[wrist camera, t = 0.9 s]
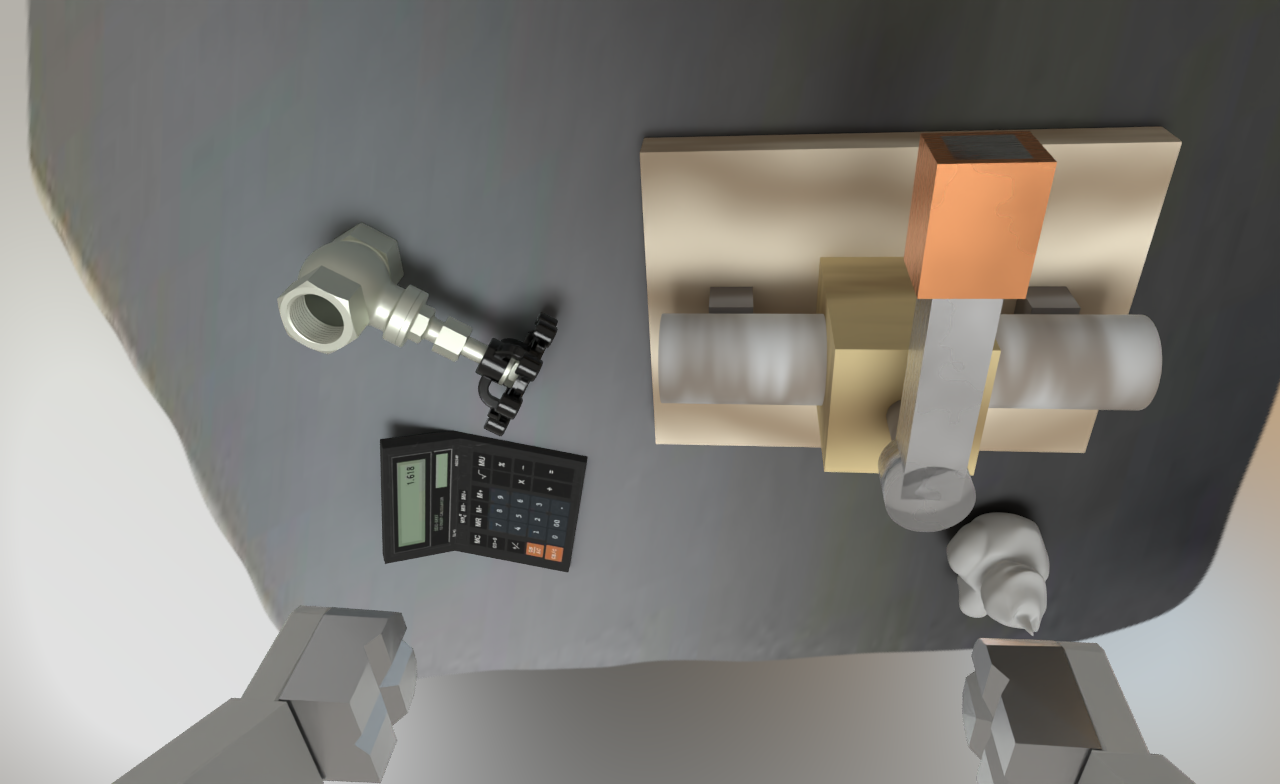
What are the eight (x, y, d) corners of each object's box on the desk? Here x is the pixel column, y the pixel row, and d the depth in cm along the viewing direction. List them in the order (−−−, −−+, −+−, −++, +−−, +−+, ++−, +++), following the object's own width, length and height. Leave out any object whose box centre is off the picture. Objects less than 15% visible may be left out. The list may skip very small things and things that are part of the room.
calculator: (570, 562, 55) (562, 597, 52) (395, 528, 55) (378, 562, 52) (588, 453, 49) (579, 487, 47) (393, 415, 49) (375, 447, 47)
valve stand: (644, 138, 38) (605, 261, 28) (1161, 126, 35) (1334, 257, 25) (659, 421, 47) (634, 595, 37) (1072, 429, 44) (1172, 617, 34)
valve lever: (954, 490, 31) (969, 539, 29) (872, 488, 32) (881, 536, 30) (1029, 130, 24) (1057, 161, 22) (920, 133, 24) (937, 164, 22)
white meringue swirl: (1060, 512, 48) (1111, 623, 41) (996, 584, 51) (1032, 697, 45) (975, 482, 47) (1012, 590, 41) (916, 558, 51) (940, 668, 44)
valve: (314, 286, 44) (518, 386, 47) (254, 351, 39) (489, 461, 41) (350, 183, 41) (569, 297, 43) (289, 239, 35) (544, 366, 38)
